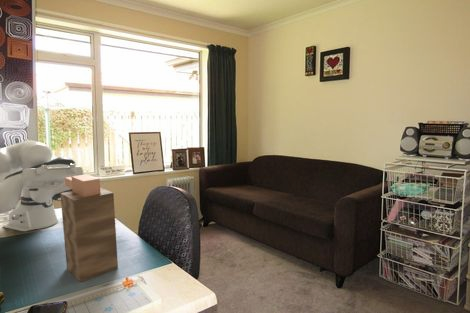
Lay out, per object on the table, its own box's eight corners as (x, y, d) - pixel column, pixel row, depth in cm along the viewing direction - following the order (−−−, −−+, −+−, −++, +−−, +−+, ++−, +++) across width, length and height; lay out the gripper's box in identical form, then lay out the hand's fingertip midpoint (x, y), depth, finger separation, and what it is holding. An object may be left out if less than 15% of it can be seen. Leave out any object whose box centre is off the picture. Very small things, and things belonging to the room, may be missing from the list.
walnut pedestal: (66, 268, 104) (60, 193, 100) (102, 256, 112) (97, 186, 108) (80, 282, 95) (74, 200, 92) (117, 268, 104) (113, 192, 100)
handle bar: (62, 186, 109) (61, 172, 108) (77, 184, 112) (76, 170, 112) (84, 197, 95) (83, 181, 94) (100, 193, 99) (99, 178, 98)
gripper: (78, 185, 129) (90, 172, 120) (20, 190, 114) (28, 175, 105) (75, 172, 131) (87, 157, 122) (17, 175, 116) (25, 159, 107)
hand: (59, 166), depth 113 cm, fingers open, 8 cm apart
